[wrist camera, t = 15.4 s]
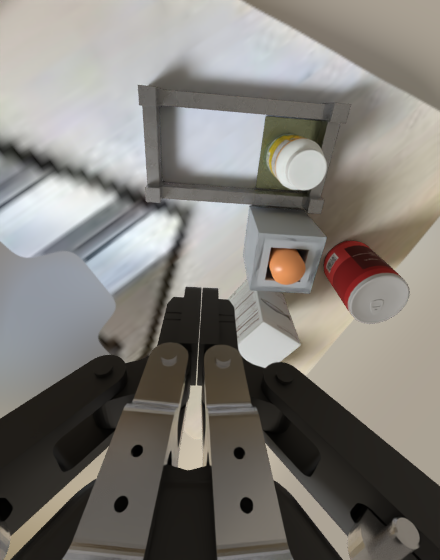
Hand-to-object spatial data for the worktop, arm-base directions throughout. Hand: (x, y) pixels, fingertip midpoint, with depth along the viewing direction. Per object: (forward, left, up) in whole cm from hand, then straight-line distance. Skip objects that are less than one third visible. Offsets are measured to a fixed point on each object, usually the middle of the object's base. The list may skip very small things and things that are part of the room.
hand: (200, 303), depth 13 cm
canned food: (+23, -12, -29) cm, 39 cm away
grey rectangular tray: (+4, +3, -29) cm, 29 cm away
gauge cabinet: (+10, -8, -29) cm, 32 cm away
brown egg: (+10, -8, -24) cm, 27 cm away
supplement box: (+9, -20, -29) cm, 37 cm away
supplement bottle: (+10, +3, -29) cm, 31 cm away
